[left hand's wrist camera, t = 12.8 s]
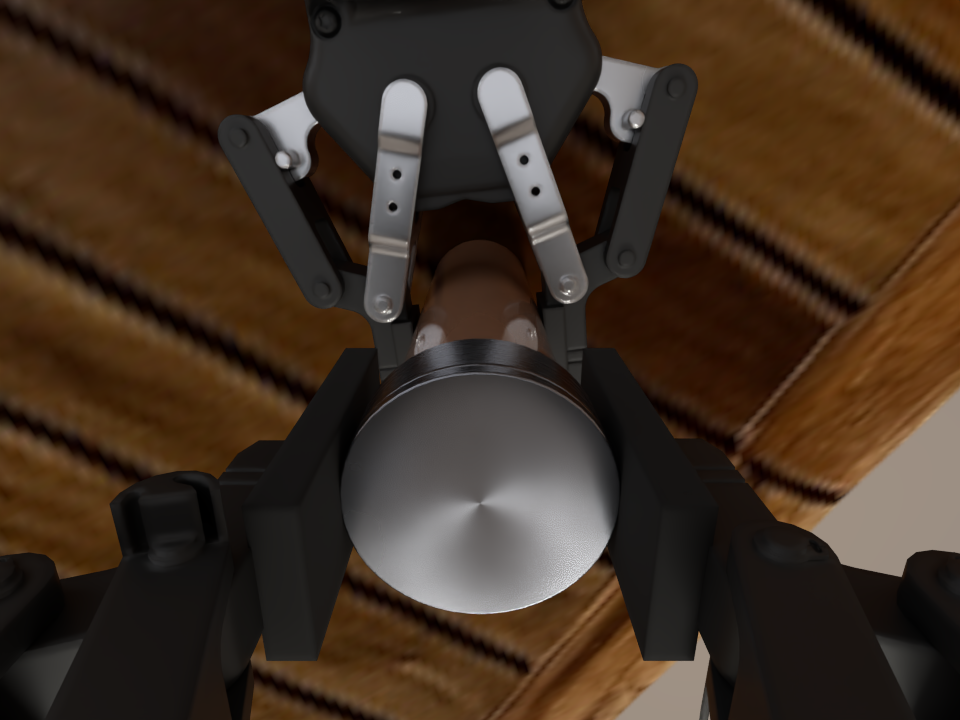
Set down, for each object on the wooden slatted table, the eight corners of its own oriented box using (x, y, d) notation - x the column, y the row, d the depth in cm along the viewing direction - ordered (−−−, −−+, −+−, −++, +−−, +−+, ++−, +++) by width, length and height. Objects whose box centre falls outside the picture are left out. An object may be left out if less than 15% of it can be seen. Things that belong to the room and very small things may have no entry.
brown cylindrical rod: (521, 334, 27) (576, 589, 11) (430, 327, 27) (363, 574, 11) (531, 243, 25) (611, 394, 10) (436, 235, 25) (369, 375, 10)
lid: (581, 560, 13) (598, 624, 11) (357, 543, 13) (338, 605, 11) (619, 347, 11) (646, 384, 9) (360, 326, 11) (339, 360, 9)
